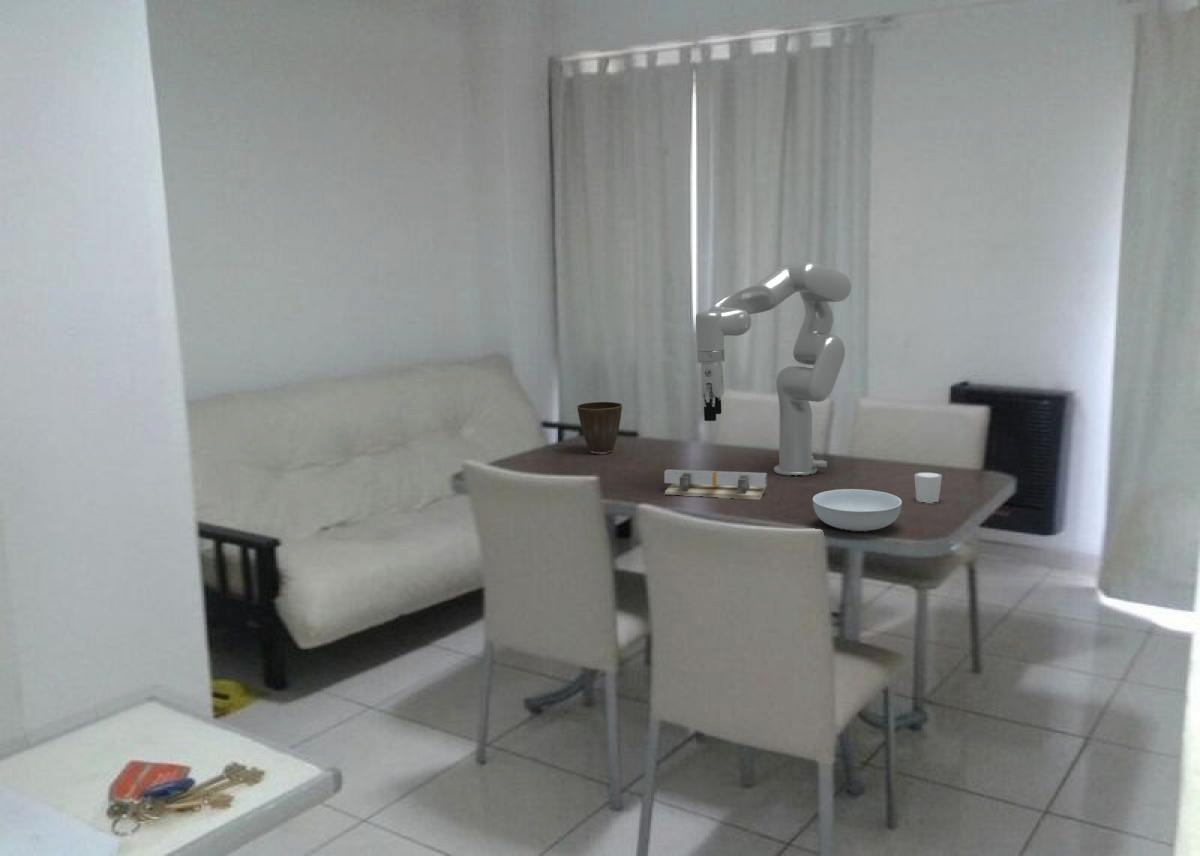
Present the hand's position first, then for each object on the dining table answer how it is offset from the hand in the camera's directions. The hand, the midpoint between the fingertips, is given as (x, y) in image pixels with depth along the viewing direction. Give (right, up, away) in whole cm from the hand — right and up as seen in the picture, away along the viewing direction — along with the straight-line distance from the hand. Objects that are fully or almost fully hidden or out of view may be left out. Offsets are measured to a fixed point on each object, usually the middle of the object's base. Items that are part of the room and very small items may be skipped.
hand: (713, 417), depth 287 cm
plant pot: (-31, -11, +57) cm, 66 cm away
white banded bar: (0, -18, -2) cm, 19 cm away
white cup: (+55, -22, -16) cm, 61 cm away
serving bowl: (+30, -27, -39) cm, 56 cm away
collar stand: (0, -21, -2) cm, 21 cm away
